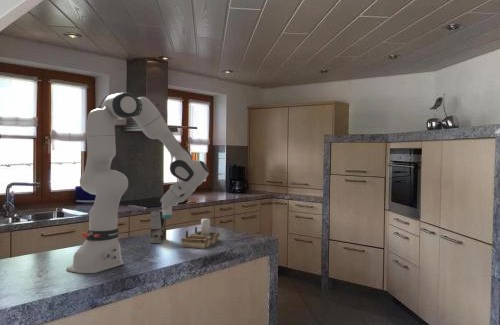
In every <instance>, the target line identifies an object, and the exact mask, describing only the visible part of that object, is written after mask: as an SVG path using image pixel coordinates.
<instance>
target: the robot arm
mask: <svg viewBox="0 0 500 325" xmlns="http://www.w3.org/2000/svg"><path fill="white" fill-rule="evenodd" d="M131 118H132V120H134V122H135V123H136V124H137V126H138V128H140V130H141V131H142V133H143V134H144V135H145V136H146V137H147V138H149V139H151V140H159V141H160V142H161V143H162V144H163V146H164V147H165V148H166V149H167V152H168V153H169V155H170V164H169V171H170V173H171V175H172V176H174V177H175V178H176V179H179V180H178V181H176V183H172V184H171V185H170V186H169V189H168V190H167V191H166V192H165V193H164V194H163V195H162V197H161V198H160V203H161V205H162V204H163V206H160V207H161V210H162V209H163V210H164V209H166V208H167V206H168V205H171V204H172V207H174V206H175V205H176V204H179V203H183V202H185V201H186V200H187V199H188V198H189V197H191V195H192V194H193V193H194V192H195V191H196V189H197V188H198V187H199V186H201V185H202V184H203V182H204V181H206V179H207V177H208V176H209V174H210V172H209V171H210V169H209V167H208V165H207V164H206V163H205V162H204V161H202V160H193V156H192V154H191V152H190V151H189V150H188V149H186V148H185V147H183V146H182V145H181V144H180V142H179V141H178V139H177V138H176V137H175V136H174V133H172V132H171V130H170V128H169V127H168V124H167V123H166V121H165V118H164V117H163V115H162V114H161V113H160V111H159V109H158V108H157V107H156V106H155V104H154V103H153V102H152V101H151V100H150V99H149V98H148V97H146V96H139V97H136V96H134V94H132V93H129V92H117V93H112V94H110V95H108V96H105V97H104V98H103V99H102V100H101V102H100V105H99V106H98V108H95V109H92V110H91V111H89V113H88V114H87V118H86V120H87V121H86V149H87V151H86V152H87V153H86V154H87V155H86V163H85V166H84V167H85V168H84V171H83V173H82V174H81V176H80V178H79V185H80V187H81V189H82V190H83V191H84V192H86V193H88V194H90V195H95V199H94V203H93V205H92V207H91V208H89V211H88V212H89V213H88V215H89V218H88V223H89V226H88V229H87V232H84V231H82V233H81V237H82V238H85V241H84V242H83V243H82V245H81V246H80V247H79V248H78V249H77V250H76V252H74V255H73V260H72V262H73V263H72V264H71V265H69V266H67V267H66V271H68V272H70V273H77V274H96V273H100V272H103V271H105V270H106V271H107V270H109V269H112V268H116V267H119V266H122V265H124V261H123V260H122V251H121V250H122V249H121V244H120V242H119V238H118V237H119V233H120V232H119V227H118V220H119V219H118V215H119V214H118V213H119V212H118V211H119V205H120V202H121V199H122V196H123V195H124V194H125V192H127V190H128V187H129V179H128V177H127V176H126V175H125V173H123V172H121V171H118V170H116V169H111V166H112V161H113V159H114V158H115V157H116V154H117V152H116V151H117V148H116V129H115V128H116V123H117V122H118V120H121V121H122V120H125V119H131Z"/></svg>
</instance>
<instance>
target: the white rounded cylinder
mask: <svg viewBox="0 0 500 325" xmlns="http://www.w3.org/2000/svg"><path fill="white" fill-rule="evenodd" d="M161 205H162V206H163V204H162V203H161ZM162 206H161V207H162ZM161 210H162V218H164V219H166V220H167V219H172V218H173V206H172V204H171V205H168V206H167V208H166V209H164V210H163V209H162V208H161Z"/></svg>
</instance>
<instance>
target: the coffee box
mask: <svg viewBox="0 0 500 325" xmlns="http://www.w3.org/2000/svg"><path fill="white" fill-rule="evenodd" d="M166 240H167V219H164V218H162V209H154V210H152V211H150V243H151V244H163V243H164V242H165V241H166Z"/></svg>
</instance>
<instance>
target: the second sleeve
mask: <svg viewBox="0 0 500 325" xmlns="http://www.w3.org/2000/svg"><path fill="white" fill-rule="evenodd" d="M200 231H201V235H210V232H211V219H210V218H202V219H200Z"/></svg>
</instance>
